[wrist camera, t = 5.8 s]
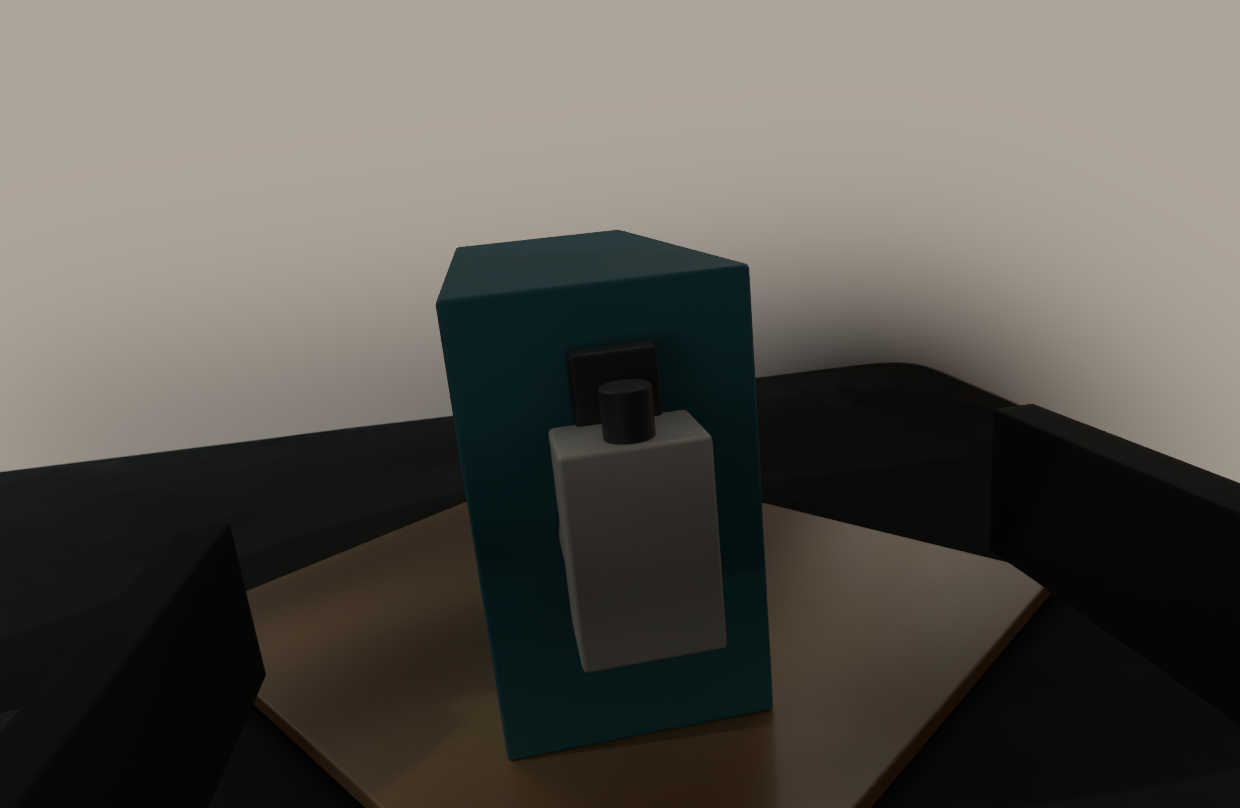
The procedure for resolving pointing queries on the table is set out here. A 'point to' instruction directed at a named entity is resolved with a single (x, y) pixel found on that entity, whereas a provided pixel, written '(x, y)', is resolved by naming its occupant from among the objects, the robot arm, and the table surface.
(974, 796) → the table surface
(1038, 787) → the table surface
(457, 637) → the cork mat
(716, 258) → the teal box
